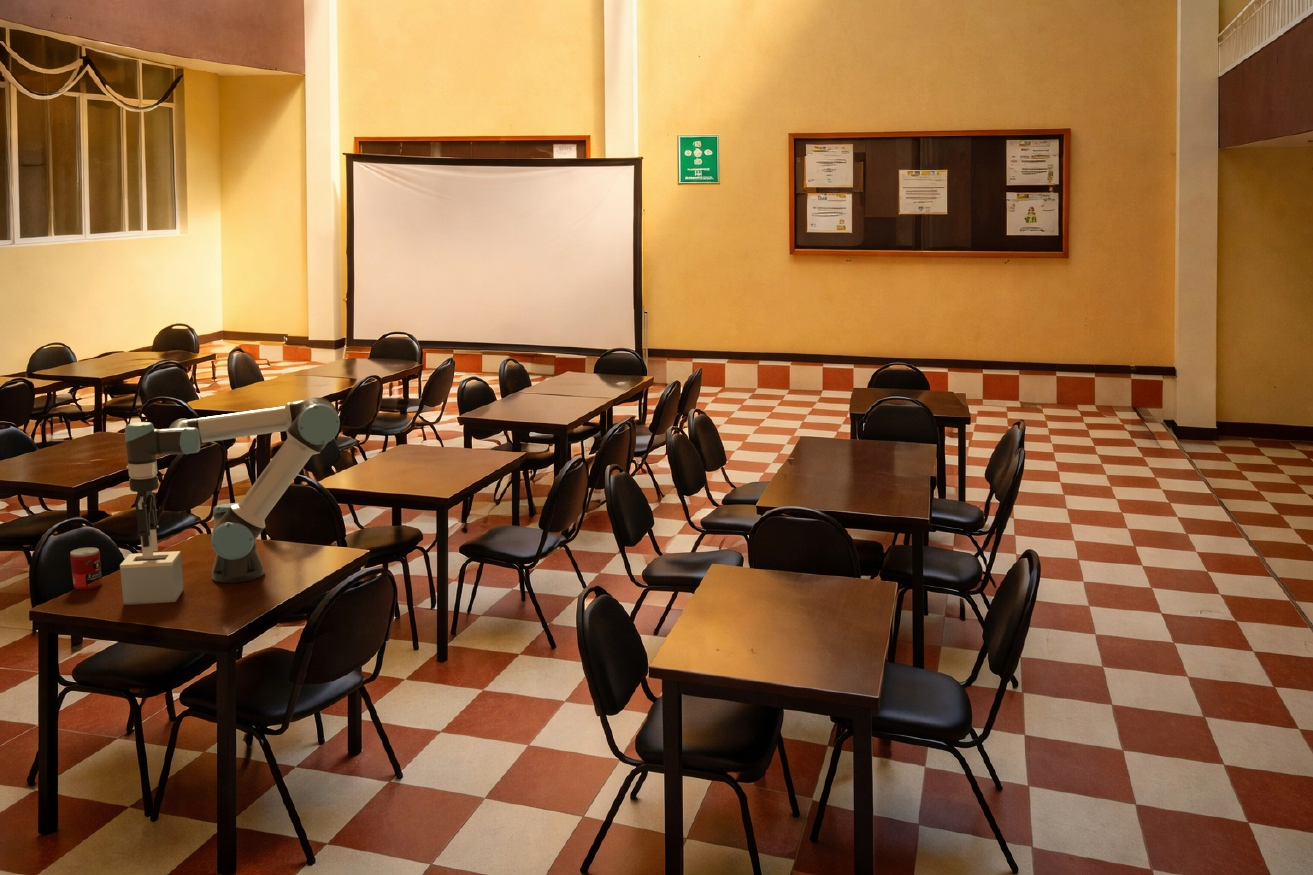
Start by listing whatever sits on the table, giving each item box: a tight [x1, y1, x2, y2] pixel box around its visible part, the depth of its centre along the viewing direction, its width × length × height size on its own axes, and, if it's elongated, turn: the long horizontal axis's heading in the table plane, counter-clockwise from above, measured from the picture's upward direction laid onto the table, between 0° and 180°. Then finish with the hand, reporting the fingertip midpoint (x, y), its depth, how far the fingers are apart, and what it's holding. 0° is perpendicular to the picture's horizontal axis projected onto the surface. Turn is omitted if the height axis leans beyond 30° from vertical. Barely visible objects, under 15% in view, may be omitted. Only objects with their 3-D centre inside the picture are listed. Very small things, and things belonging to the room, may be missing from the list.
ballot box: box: [119, 550, 184, 606], centre depth 320 cm, size 14×11×12 cm
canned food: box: [69, 546, 103, 591], centre depth 330 cm, size 8×8×11 cm
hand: (150, 553), depth 318 cm, fingers open, 5 cm apart
